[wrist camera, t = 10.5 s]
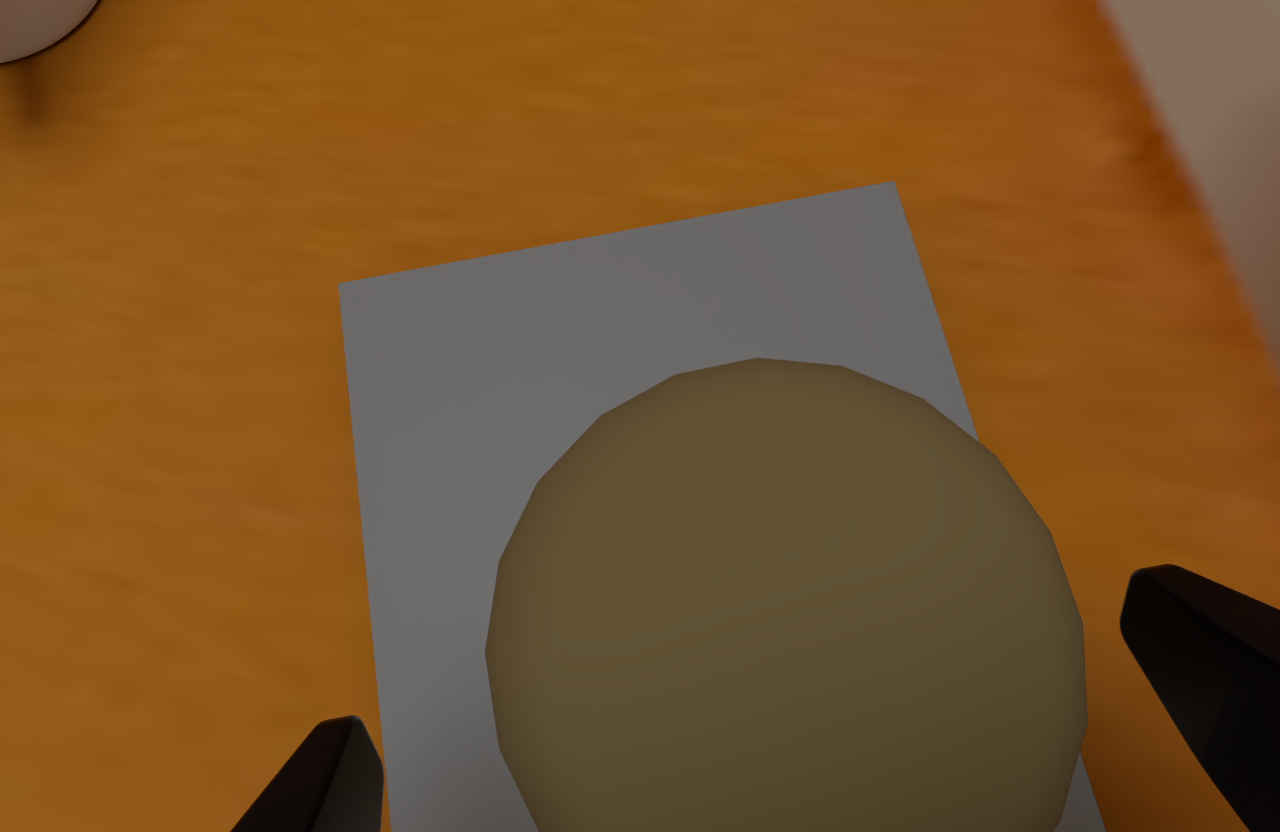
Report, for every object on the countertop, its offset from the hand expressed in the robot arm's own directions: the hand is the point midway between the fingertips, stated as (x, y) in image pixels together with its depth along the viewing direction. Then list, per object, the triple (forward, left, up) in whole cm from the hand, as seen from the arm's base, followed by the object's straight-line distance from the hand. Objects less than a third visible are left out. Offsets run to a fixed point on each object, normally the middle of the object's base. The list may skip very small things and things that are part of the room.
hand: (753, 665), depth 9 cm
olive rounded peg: (0, 0, -8) cm, 8 cm away
